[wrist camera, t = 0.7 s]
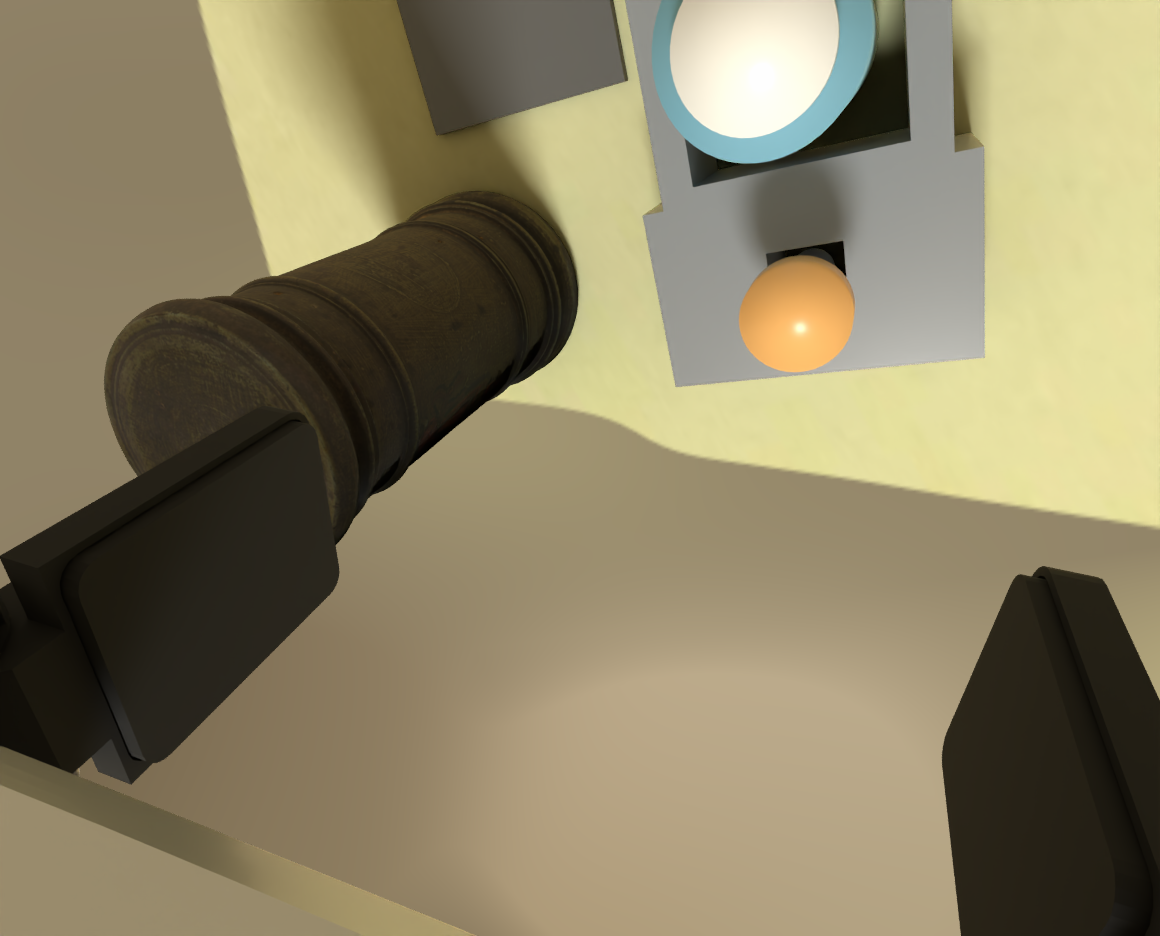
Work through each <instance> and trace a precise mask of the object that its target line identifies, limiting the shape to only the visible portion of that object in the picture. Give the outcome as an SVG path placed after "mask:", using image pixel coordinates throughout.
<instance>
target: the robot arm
mask: <svg viewBox="0 0 1160 936" xmlns="http://www.w3.org/2000/svg"><path fill="white" fill-rule="evenodd" d="M0 559H1V561H2V564H3V565H4V568H5V570H6V572H7V574H8V576H9V579H10V581H11V583H9V584H7V585H6V586H4V587H2V588H1V589H0V936H476V935H474V934H471V933H469V932H466V931H464V930H462V929H459V928H456V927H454V926H451V925H449V924H447V923H444V922H442V921H439V920H437V919H434V918H432V917H429V916H427V915H424V914H422V913H419V912H417V911H414V910H412V909H409V908H407V907H404V906H402V905H399V904H397V903H395V902H392V901H390V900H387V899H385V898H382V897H380V896H377V895H375V894H372V893H370V892H367V891H364V890H362V889H360V888H357V887H355V886H352V885H350V884H347V883H345V882H342V881H340V880H337V879H335V878H332V877H330V876H327V875H325V874H322V873H320V872H317V871H315V870H312V869H310V868H308V867H305V866H302V865H300V864H297V863H295V862H292V861H290V860H287V859H285V858H282V857H280V856H277V855H275V854H272V853H270V852H268V851H265V850H263V849H260V848H257V847H255V846H253V845H250V844H247V843H245V842H242V841H240V840H238V839H235V838H232V837H230V836H228V835H225V834H223V833H220V832H218V831H215V830H212V829H210V828H207V827H205V826H203V825H200V824H198V823H195V822H193V821H190V820H188V819H185V818H182V817H180V816H177V815H175V814H172V813H170V812H167V811H164V810H162V809H160V808H157V807H155V806H152V805H149V804H147V803H144V802H142V801H139V800H137V799H134V798H132V797H129V796H127V795H124V794H122V793H119V792H116V791H114V790H111V789H109V788H107V787H104V786H101V785H99V784H96V783H94V782H91V781H89V780H86V779H84V778H81V777H79V767H80V766H81V765H83V764H84V763H85V762H86V761H87V760H88V759H89V758H90V757H92V759H93V761H94V763H95V766H96V768H97V770H98V772H101V773H103V774H106V775H108V776H111V777H113V778H116V779H119V780H121V781H123V782H126V783H128V784H132V783H133V782H134V781H135V780H136V779H137V778H138V777H139V776H140V775H141V774H142V773H143V772H144V771H145V770H146V769H147V768H148V767H149V766H150V765H151V764H152V763H157V762H160V761H161V760H164V759H165V758H166V757H168V755H170V754H171V753H172V752H173V751H174V750H175V749H176V748H177V747H178V746H179V745H180V744H181V743H182V742H183V741H184V740H185V739H186V738H187V737H188V736H189V735H190V734H191V733H192V732H193V731H194V730H195V729H196V728H197V727H198V726H199V725H200V724H201V723H202V722H203V721H204V720H205V719H206V718H207V717H208V716H209V715H210V714H211V713H212V712H213V711H214V710H215V709H216V708H217V707H218V706H219V705H220V704H221V703H222V702H223V701H224V700H225V699H226V698H227V697H228V696H229V695H230V694H231V693H232V692H233V691H234V690H235V689H236V688H237V687H238V686H239V685H240V684H241V683H242V682H243V681H244V680H245V679H246V678H247V677H248V676H249V675H250V674H251V673H252V672H253V671H254V670H255V669H256V668H257V667H258V666H259V665H260V664H261V663H262V662H263V661H264V660H265V659H266V658H267V657H268V656H269V655H270V654H271V653H272V652H273V651H274V650H275V649H276V648H277V647H278V646H279V645H280V644H281V643H282V642H283V641H284V640H285V639H286V638H287V637H288V636H289V635H290V634H291V633H292V632H293V631H294V630H295V629H296V628H297V627H298V626H299V625H300V624H301V623H302V622H303V621H304V620H305V619H306V618H307V617H308V616H309V615H310V614H311V613H312V612H313V611H314V610H315V609H316V608H317V607H318V606H319V605H320V604H321V603H322V602H323V601H324V600H325V599H326V598H327V597H328V596H329V595H330V594H331V592H332V591H333V590H334V588H335V586H336V584H337V581H338V578H339V564H338V558H337V552H336V546H335V540H334V534H333V528H332V522H331V516H330V510H329V504H328V498H327V492H326V485H325V479H324V473H323V467H322V461H321V455H320V449H319V443H318V437H317V433H316V430H315V429H314V427H313V426H311V425H310V424H309V421H308V420H307V418H306V417H305V415H303V414H301V413H300V412H295V411H290V410H286V409H281V408H276V407H271V406H261V407H259V408H256V409H255V410H253V411H251V412H249V413H248V414H246V415H244V416H242V417H241V418H239V419H237V420H235V421H234V422H232V423H230V424H228V425H227V426H225V427H223V428H221V429H220V430H218V431H216V432H215V433H213V434H211V435H209V436H208V437H206V438H204V439H202V440H201V441H199V442H197V443H195V444H194V445H192V446H190V447H188V448H187V449H185V450H183V451H181V452H180V453H178V454H176V455H175V456H173V457H171V458H169V459H168V460H166V461H164V462H162V463H161V464H159V465H157V466H155V467H154V468H152V469H150V470H148V471H147V472H145V473H143V474H141V475H140V476H138V477H136V478H135V479H133V480H131V481H129V482H128V483H126V484H124V485H122V486H121V487H119V488H117V489H115V490H114V491H112V492H110V493H108V494H107V495H105V496H103V497H102V498H100V499H98V500H96V501H95V502H93V503H91V504H89V505H88V506H86V507H84V508H82V509H81V510H79V511H78V512H75V513H74V514H72V515H70V516H68V517H67V518H65V519H63V520H61V521H60V522H58V523H56V524H55V525H53V526H51V527H49V528H48V529H46V530H44V531H43V532H41V533H39V534H37V535H36V536H34V537H32V538H30V539H28V540H27V541H25V542H23V543H22V544H20V545H18V546H16V547H14V548H13V549H11V550H9V551H8V552H6V553H4V554H2V555H1V556H0ZM942 768H943V777H944V785H945V795H946V804H947V813H948V822H949V831H950V839H951V848H952V857H953V867H954V876H955V885H956V894H957V903H958V912H959V921H960V930H961V936H1160V700H1159V698H1158V696H1157V693H1156V691H1155V689H1154V687H1153V685H1152V683H1151V680H1150V678H1149V676H1148V674H1147V672H1146V670H1145V668H1144V665H1143V663H1142V661H1141V659H1140V657H1139V655H1138V652H1137V650H1136V648H1135V646H1134V644H1133V641H1132V639H1131V637H1130V635H1129V633H1128V631H1127V629H1126V626H1125V624H1124V622H1123V620H1122V618H1121V616H1120V613H1119V611H1118V609H1117V607H1116V605H1115V602H1114V600H1113V598H1112V596H1111V594H1110V592H1109V589H1108V587H1107V585H1106V584H1105V582H1104V581H1103V580H1102V579H1100V578H1098V577H1094V576H1089V575H1084V574H1079V573H1074V572H1070V571H1064V570H1060V569H1055V568H1050V567H1045V566H1042V567H1040V568H1038V569H1037V570H1036V572H1035V573H1034V574H1033V576H1032V577H1031V576H1026V575H1021V574H1020V575H1017V576H1016V577H1015V579H1014V580H1013V582H1012V584H1011V586H1010V588H1009V590H1008V593H1007V595H1006V597H1005V600H1004V602H1003V604H1002V606H1001V609H1000V611H999V613H998V615H997V618H996V620H995V622H994V625H993V627H992V629H991V632H990V634H989V636H988V639H987V641H986V643H985V645H984V648H983V650H982V652H981V655H980V657H979V659H978V662H977V664H976V666H975V668H974V671H973V673H972V676H971V678H970V680H969V683H968V685H967V687H966V689H965V692H964V694H963V696H962V698H961V701H960V703H959V705H958V708H957V710H956V712H955V715H954V717H953V719H952V721H951V724H950V726H949V728H948V731H947V733H946V736H945V740H944V745H943V751H942Z"/></svg>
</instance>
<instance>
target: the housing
mask: <svg viewBox="0 0 1160 936" xmlns="http://www.w3.org/2000/svg"><path fill="white" fill-rule="evenodd" d="M661 1H662V0H625V2H626V8H627V13H628V19H629V24H630V30H631V35H632V41H633V46H634V52H635V57H636V63H637V68H638V74H639V79H640V85H641V90H642V96H643V101H644V107H645V112H646V118H647V123H648V129H649V134H650V140H651V145H652V151H653V156H654V162H655V168H656V173H657V179H658V184H659V190H660V195H661V201H662V203H661V204H659V205H658V206H656V207H655V208H653V209H652V210H650V211H649V212H647V213H646V214H645V215H643V220H644V225H645V230H646V235H647V240H648V246H649V251H650V256H651V261H652V266H653V271H654V277H655V282H656V287H657V292H658V297H659V303H660V308H661V313H662V318H663V323H664V328H665V334H666V339H667V344H668V349H669V354H670V359H671V365H672V370H673V375H674V380H675V385H676V387H681V386H692V385H702V384H713V383H723V382H734V381H744V380H755V379H766V378H776V377H787V376H797V375H808V374H818V373H829V372H839V371H850V370H860V369H871V368H881V367H892V366H902V365H913V364H923V363H934V362H944V361H955V360H966V359H976V358H985V262H984V146H983V145H982V143H981V142H980V141H979V140H978V139H977V138H976V137H975V136H974V135H973V134H972V133H971V132H970V133H965V134H961V135H956V136H954V95H953V41H952V0H903V11H904V35H905V58H906V81H907V104H908V128H905V129H901V130H896V131H892V132H887V133H883V134H878V135H873V136H869V137H864V138H860V139H855V140H851V141H846V142H842V143H837V144H833V145H828V146H824V147H819V148H815V149H810V150H806V151H801V152H797V153H792V154H789V155H787V156H785V157H782V158H779V159H775V160H772V161H768V162H761V163H747V164H742V165H738V166H733V167H729V168H724V169H720V170H718V167H717V160H716V158H715V157H713V156H711V155H708V154H706V153H704V152H703V151H701V150H700V149H698V148H696V147H695V146H693V145H692V144H691V143H690V142H689V141H688V140H686V139H685V138H684V137H683V136H682V135H681V134H680V132H679V131H678V130H677V129H676V128H675V126H674V125H673V124H672V122H671V121H670V119H669V118H668V116H667V114H666V112H665V110H664V108H663V106H662V104H661V101H660V99H659V96H658V93H657V90H656V86H655V81H654V77H653V69H652V39H653V30H654V25H655V21H656V16H657V13H658V10H659V7H660V4H661ZM839 241H843V242H844V254H845V266H846V278H847V279H848V281H849V283H850V285H851V287H852V290H853V293H854V298H855V313H854V320H853V327H852V331H851V334H850V337H849V339H848V341H847V343H846V344H845V346H844V348H843V349H842V350H841V351H840V353H839V354H838V355H837V356H836V357H834V358H833V359H832V360H831V361H829V362H828V363H826V364H824V365H823V366H821V367H818V368H816V369H813V370H809V371H804V372H785V371H780V370H777V369H774V368H771V367H769V366H767V365H765V364H764V363H762V362H761V361H759V360H758V359H757V358H756V357H755V356H754V355H753V354H752V353H751V352H750V351H749V349H748V348H747V347H746V345H745V343H744V341H743V338H742V336H741V332H740V328H739V313H740V307H741V304H742V301H743V299H744V297H745V295H746V293H747V291H748V290H749V288H750V286H751V285H752V283H753V282H754V280H755V279H756V277H757V276H758V275H759V274H760V273H761V272H762V271H763V270H764V269H765V268H766V267H768V266H769V265H771V264H772V263H774V262H776V261H778V260H781V259H783V258H785V252H784V251H785V250H791V249H797V248H803V247H809V246H815V245H821V244H827V243H833V242H839Z"/></svg>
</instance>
